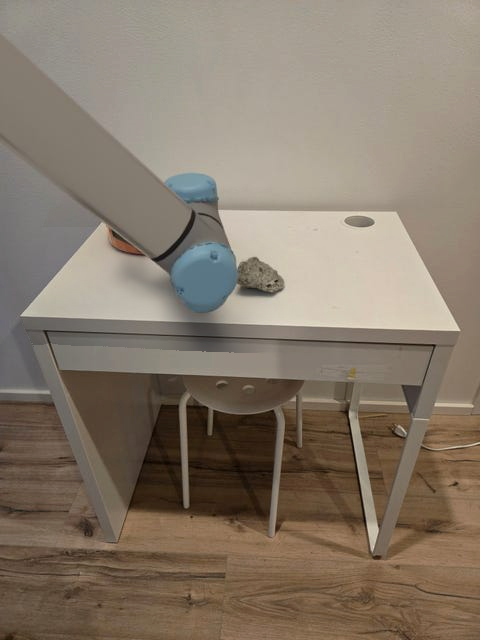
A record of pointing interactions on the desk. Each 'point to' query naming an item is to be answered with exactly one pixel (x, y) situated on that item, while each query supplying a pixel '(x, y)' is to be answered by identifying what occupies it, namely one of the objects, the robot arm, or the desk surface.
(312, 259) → the desk surface
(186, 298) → the robot arm
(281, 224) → the desk surface
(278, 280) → the rock sample
